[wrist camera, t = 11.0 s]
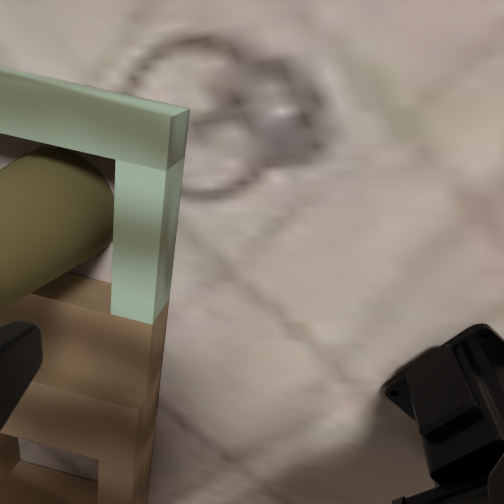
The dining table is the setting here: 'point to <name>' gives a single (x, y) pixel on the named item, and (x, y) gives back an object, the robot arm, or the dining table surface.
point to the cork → (49, 219)
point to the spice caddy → (98, 298)
